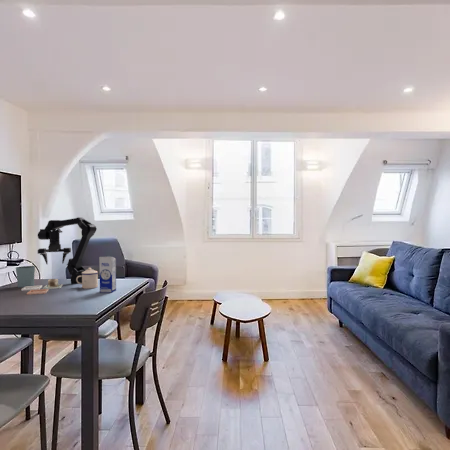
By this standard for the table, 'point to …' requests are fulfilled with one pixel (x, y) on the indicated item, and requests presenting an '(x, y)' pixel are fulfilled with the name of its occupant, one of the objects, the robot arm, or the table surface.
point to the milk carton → (107, 274)
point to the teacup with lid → (89, 279)
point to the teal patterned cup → (25, 276)
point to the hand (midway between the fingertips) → (54, 264)
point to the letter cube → (53, 283)
